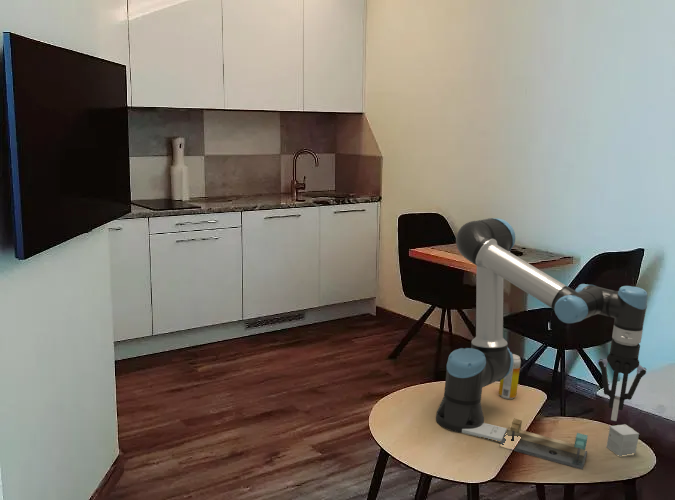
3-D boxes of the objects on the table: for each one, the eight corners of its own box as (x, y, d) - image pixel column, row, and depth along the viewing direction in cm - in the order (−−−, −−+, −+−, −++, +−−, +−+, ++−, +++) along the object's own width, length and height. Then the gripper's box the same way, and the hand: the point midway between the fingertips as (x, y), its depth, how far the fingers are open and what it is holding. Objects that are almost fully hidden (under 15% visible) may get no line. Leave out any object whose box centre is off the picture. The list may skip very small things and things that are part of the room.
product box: (605, 447, 212) (609, 425, 210) (621, 445, 214) (625, 423, 212) (619, 457, 206) (623, 435, 205) (635, 455, 208) (639, 433, 207)
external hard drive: (467, 423, 222) (506, 432, 217) (461, 433, 214) (501, 443, 210) (468, 418, 221) (507, 427, 216) (461, 428, 214) (502, 438, 209)
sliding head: (572, 457, 202) (574, 441, 201) (574, 448, 207) (577, 432, 206) (582, 460, 201) (585, 443, 199) (585, 451, 206) (587, 435, 205)
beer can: (516, 394, 246) (522, 355, 242) (514, 401, 240) (520, 361, 237) (499, 391, 248) (504, 352, 244) (497, 397, 242) (502, 357, 239)
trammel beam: (503, 439, 210) (505, 424, 209) (508, 432, 215) (509, 417, 214) (582, 461, 201) (585, 445, 200) (585, 452, 206) (587, 437, 205)
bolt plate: (499, 446, 208) (499, 443, 208) (506, 433, 217) (507, 430, 216) (582, 469, 198) (583, 466, 198) (586, 454, 207) (587, 451, 206)
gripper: (600, 340, 193) (588, 418, 198) (650, 350, 188) (637, 429, 193) (602, 333, 200) (591, 408, 205) (651, 342, 194) (639, 419, 199)
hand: (614, 418), depth 199 cm, fingers closed
